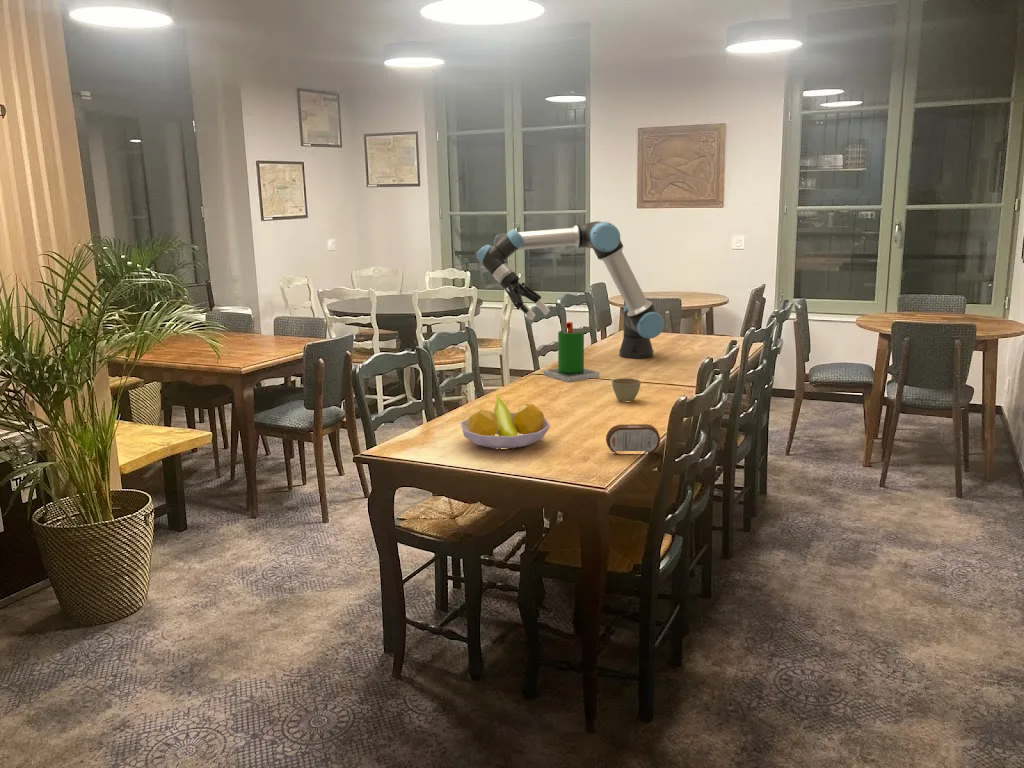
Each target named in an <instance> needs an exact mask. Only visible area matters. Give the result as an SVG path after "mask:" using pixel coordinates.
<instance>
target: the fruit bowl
mask: <svg viewBox="0 0 1024 768" xmlns="http://www.w3.org/2000/svg"><path fill="white" fill-rule="evenodd" d="M460 427H461V430H462V434H463V436H464V438H466V439H467V440H469V441H470V442H471V443H474V444H475V445H479V446H483V447H486V448H489V447H490V449H494V448H498V449H501V448H512V449H516V447H518V448H522V446H524V447H528V446H530V445H532V444H535V443H537V442H539V441H541V440H543V438H544V437H545V435H546V434H547V432H548V431H549V429H550V427H551V424H550V423H549V421H548V420H547V418H546V417H545V416H544V413H543V412H542V411H541V410H540V409H539V408H538V407H537V406H535V404H533V403H532V404H531V403H530V404H529V403H528V404H527V403H526V404H523V405H521V407H520V408H519V409H517V411H516V412H511V411H510V410H509V408H508V407H507V405H506V404H505V402H504V401H503V400H502V399H501V394H499V393H498V394H496V401H495V405H494V410H493V412H492V411H491V410H487V409H480V410H478V411H477V412H475V413H474V414H472V415H470V416H469V417H468V418H467V419H465V420H463V421H461V422H460ZM518 433H519V434H523V435H518V436H517V434H518ZM495 434H498V435H499V436H495ZM527 445H528V446H527ZM498 449H497V450H498Z"/></svg>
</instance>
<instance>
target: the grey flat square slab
mask: <svg viewBox="0 0 1024 768" xmlns="http://www.w3.org/2000/svg"><path fill="white" fill-rule="evenodd" d="M544 375H545V376H544ZM600 375H601V374H600V371H597V370H593V369H589V368H586V367H584V371H583V372H578V373H564V372H560V371H558V368H551V369H545V370H543V376H544V377H548V378H551V379H554V378H555V380H558V381H561V380H562V382H564V381H565V383H571V381H573V382H577V380H579V381H583V380H582V379H585V380H590V379H589V378H591V379H595V378H594V377H597V378H600V377H601V376H600Z"/></svg>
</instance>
